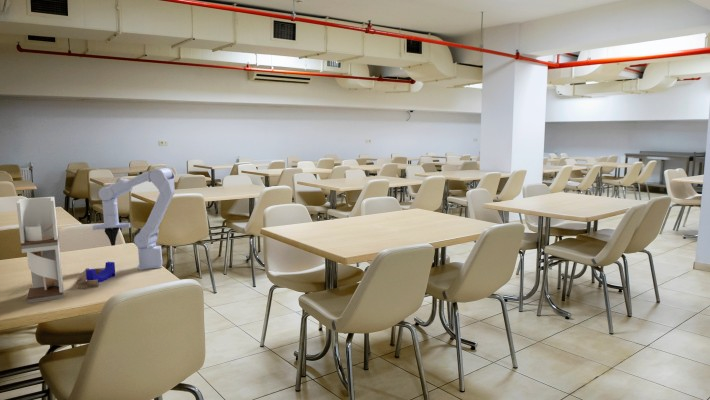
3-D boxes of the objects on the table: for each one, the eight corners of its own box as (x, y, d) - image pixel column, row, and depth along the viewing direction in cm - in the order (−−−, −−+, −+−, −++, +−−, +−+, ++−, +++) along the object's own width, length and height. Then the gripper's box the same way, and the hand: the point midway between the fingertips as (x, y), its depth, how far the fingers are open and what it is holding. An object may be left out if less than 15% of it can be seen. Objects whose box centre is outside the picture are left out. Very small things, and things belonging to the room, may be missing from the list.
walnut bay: (105, 273, 207) (105, 266, 206) (97, 286, 190) (97, 279, 189) (86, 275, 205) (86, 268, 204) (77, 288, 188) (76, 280, 187)
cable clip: (106, 275, 204) (105, 261, 204) (115, 276, 203) (114, 262, 202) (83, 284, 193) (82, 269, 192) (93, 285, 192) (92, 270, 191)
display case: (29, 293, 183) (19, 198, 177) (63, 288, 188) (54, 196, 183) (27, 303, 173) (16, 203, 168) (63, 297, 178) (53, 200, 173)
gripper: (130, 211, 220) (132, 241, 222) (93, 213, 216) (96, 244, 218) (128, 214, 214) (130, 245, 216) (90, 216, 209) (93, 248, 211)
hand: (113, 245), depth 216 cm, fingers closed
